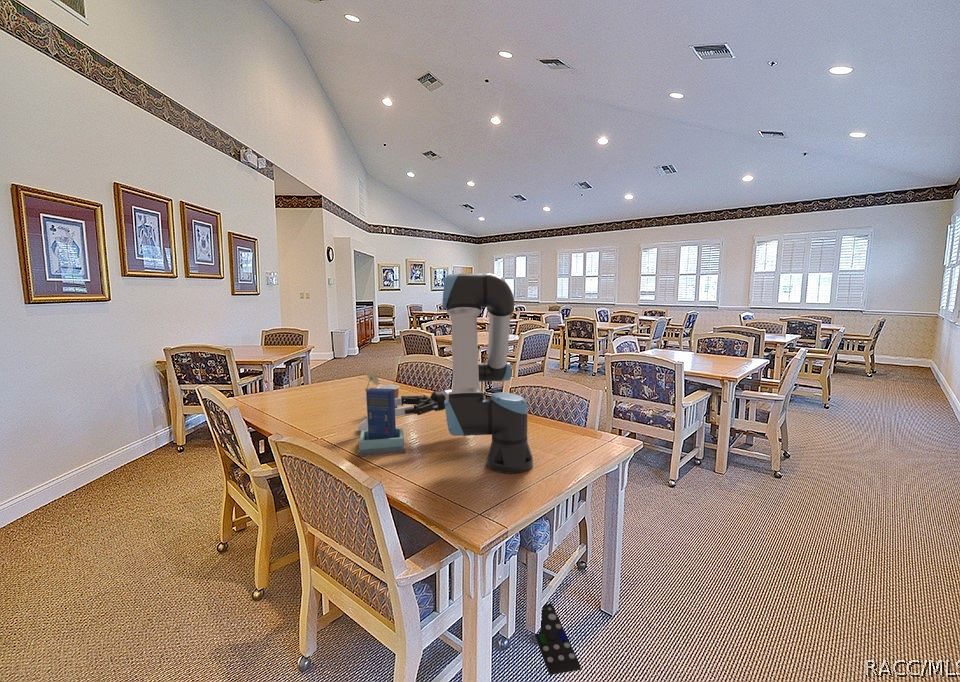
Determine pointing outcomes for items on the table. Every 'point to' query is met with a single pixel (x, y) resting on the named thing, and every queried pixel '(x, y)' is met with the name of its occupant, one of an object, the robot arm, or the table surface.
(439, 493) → the table surface
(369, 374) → the flower in vase
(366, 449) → the charging dock
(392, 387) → the coffee cup
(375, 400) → the electronic device
